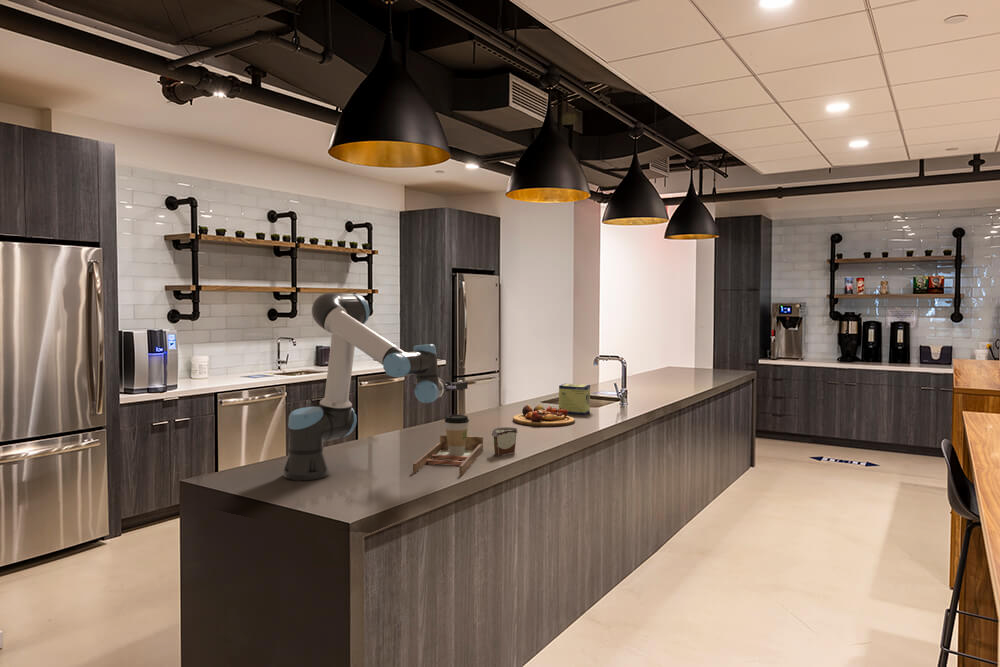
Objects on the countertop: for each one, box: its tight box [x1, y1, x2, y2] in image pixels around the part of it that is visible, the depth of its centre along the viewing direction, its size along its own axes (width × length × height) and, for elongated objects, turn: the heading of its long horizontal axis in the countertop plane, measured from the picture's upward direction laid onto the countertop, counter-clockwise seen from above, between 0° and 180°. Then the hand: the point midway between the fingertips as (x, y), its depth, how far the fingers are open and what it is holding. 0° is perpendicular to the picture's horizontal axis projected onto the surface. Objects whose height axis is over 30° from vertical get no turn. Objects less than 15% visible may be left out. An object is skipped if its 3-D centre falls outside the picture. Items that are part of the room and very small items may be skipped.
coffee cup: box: [444, 414, 470, 455], centre depth 273 cm, size 10×10×15 cm
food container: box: [491, 426, 518, 457], centre depth 277 cm, size 12×6×10 cm, turn 134°
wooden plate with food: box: [512, 404, 576, 428], centre depth 351 cm, size 32×32×8 cm
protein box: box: [558, 383, 591, 416], centre depth 378 cm, size 10×16×16 cm
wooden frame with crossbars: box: [412, 434, 484, 477], centre depth 262 cm, size 18×40×6 cm, turn 171°
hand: (443, 383), depth 259 cm, fingers open, 13 cm apart
